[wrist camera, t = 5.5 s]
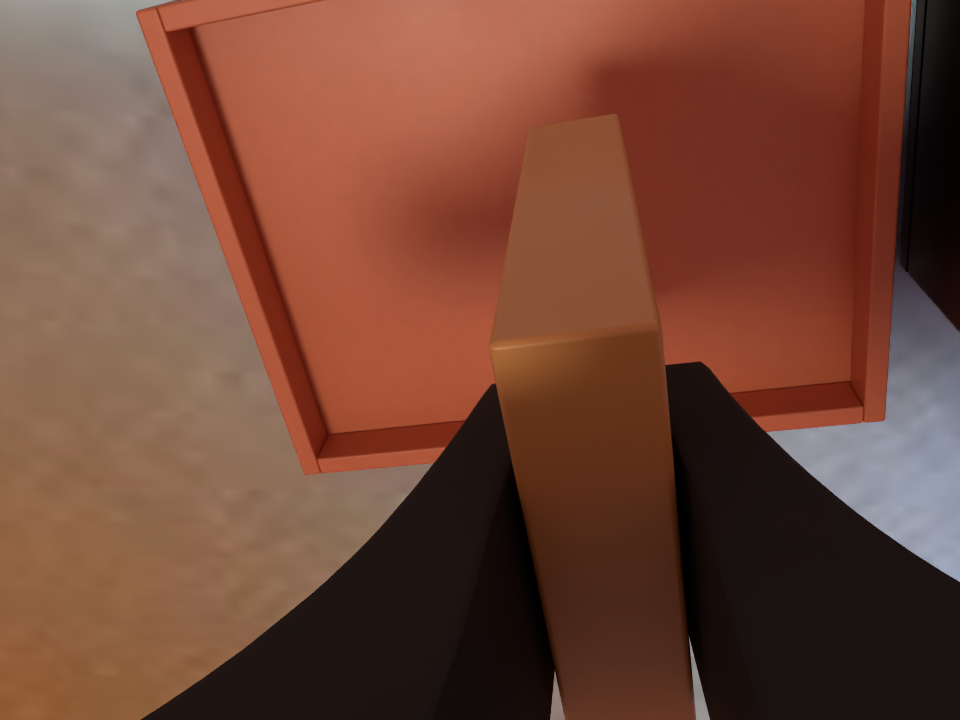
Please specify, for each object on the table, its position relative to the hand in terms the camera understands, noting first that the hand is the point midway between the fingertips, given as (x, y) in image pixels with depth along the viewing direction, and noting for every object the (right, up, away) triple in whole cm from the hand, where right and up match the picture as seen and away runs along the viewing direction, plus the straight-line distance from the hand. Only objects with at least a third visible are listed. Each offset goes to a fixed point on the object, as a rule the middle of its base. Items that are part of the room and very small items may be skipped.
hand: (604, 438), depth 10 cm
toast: (0, +2, +4) cm, 4 cm away
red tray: (0, +5, +9) cm, 10 cm away
